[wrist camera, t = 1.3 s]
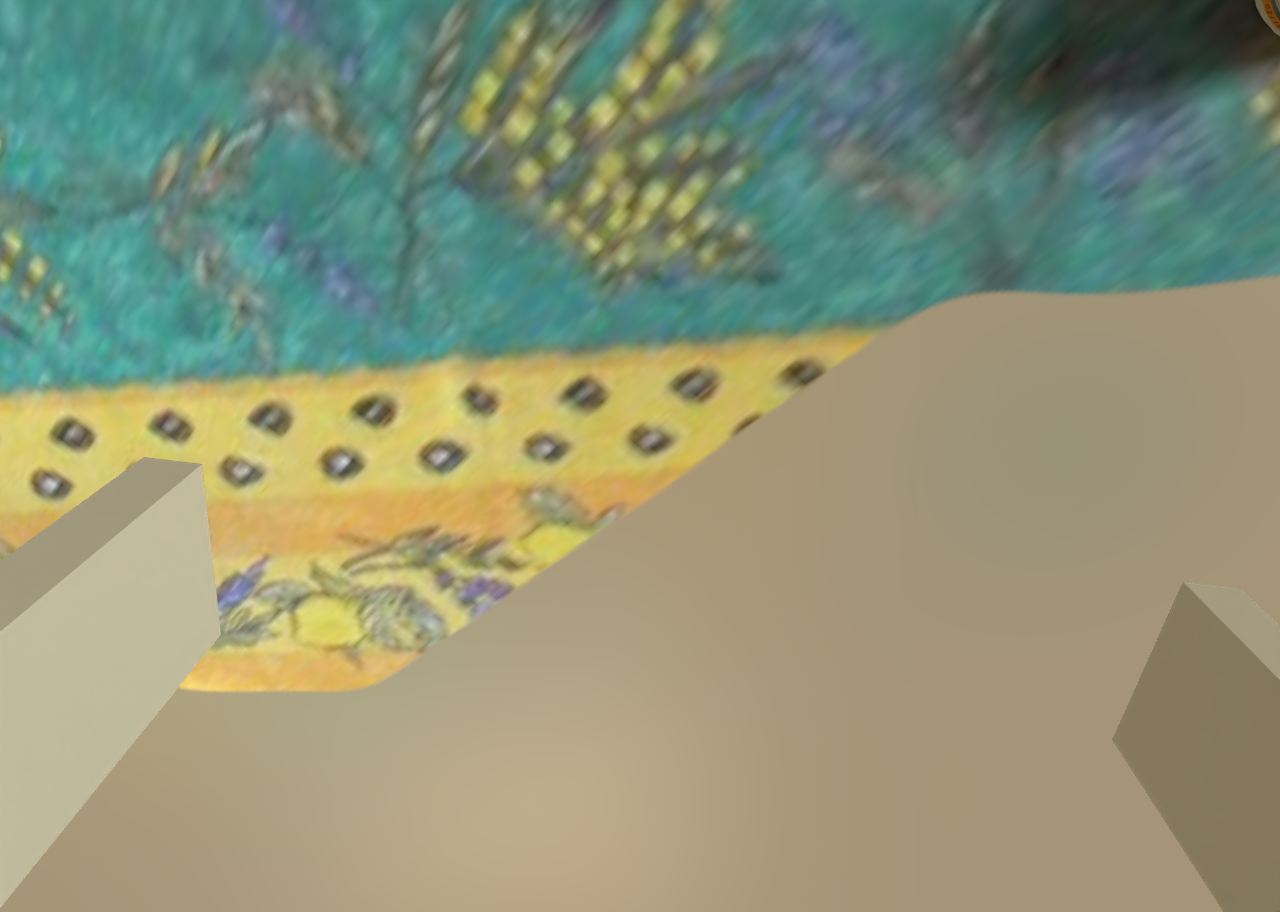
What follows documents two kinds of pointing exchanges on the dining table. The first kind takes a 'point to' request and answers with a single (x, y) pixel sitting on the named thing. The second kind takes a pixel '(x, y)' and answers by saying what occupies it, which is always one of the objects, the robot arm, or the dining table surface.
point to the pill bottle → (1270, 13)
